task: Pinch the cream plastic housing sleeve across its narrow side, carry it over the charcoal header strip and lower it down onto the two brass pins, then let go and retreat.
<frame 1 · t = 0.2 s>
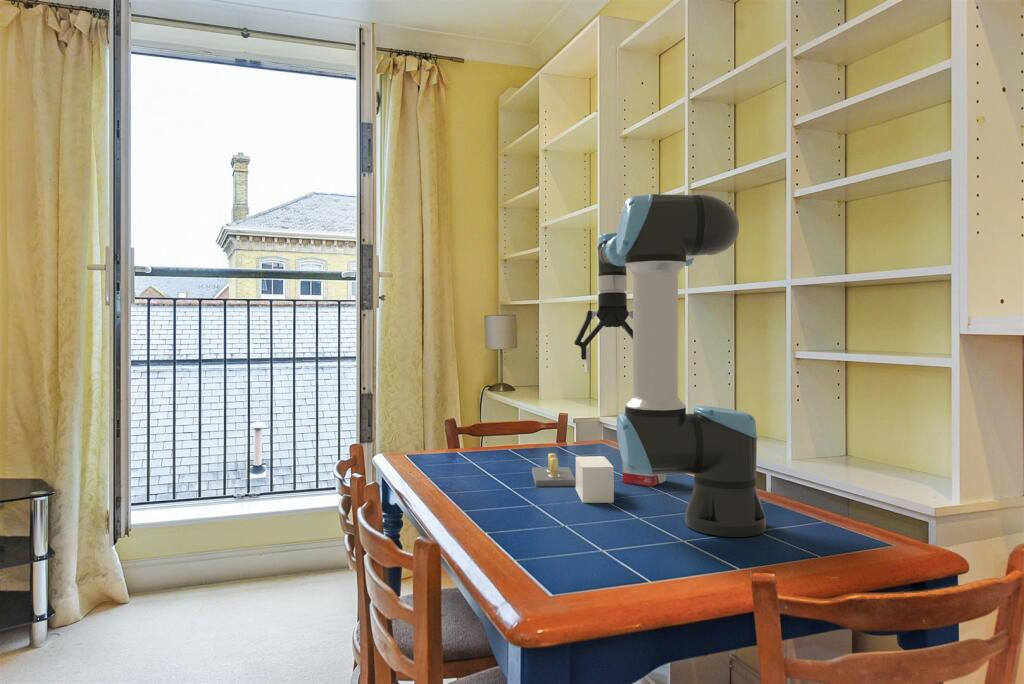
hand: (612, 372, 181), 27 cm above the table, fingers open, 13 cm apart
ink box: (644, 482, 173), on the table
housing: (593, 495, 159), on the table
header: (553, 479, 177), on the table
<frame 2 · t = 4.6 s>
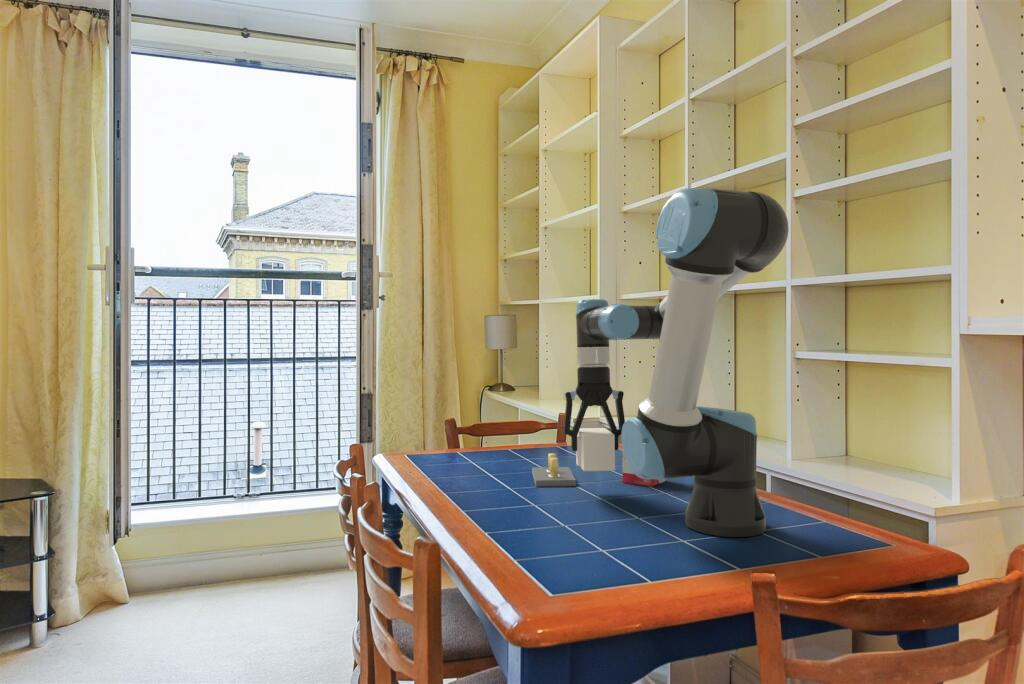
hand: (595, 464, 158), 7 cm above the table, fingers closed on housing, 7 cm apart
housing: (595, 465, 158), point 7 cm above the table, touching gripper
everything else where it was.
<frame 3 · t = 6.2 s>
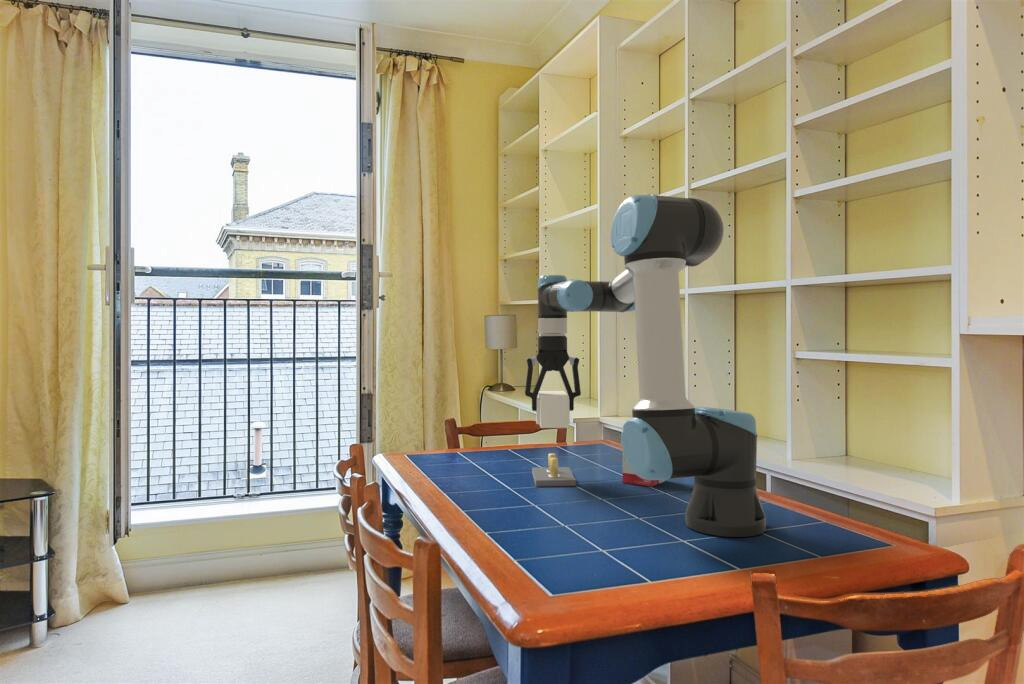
hand: (552, 423, 177), 15 cm above the table, fingers closed on housing, 7 cm apart
housing: (552, 424, 177), point 14 cm above the table, touching gripper
everything else where it was.
when the fingers open (3 cm above the table, at t = 8.2 s): housing stays where it is, resting on header.
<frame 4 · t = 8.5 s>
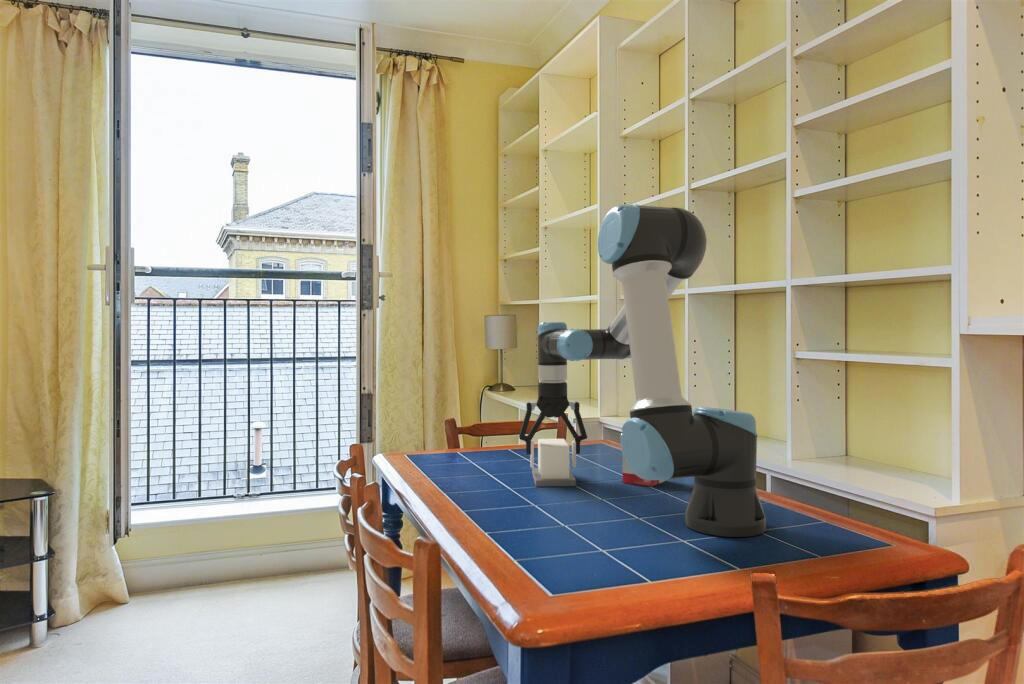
hand: (553, 466, 177), 3 cm above the table, fingers open, 10 cm apart
housing: (553, 473, 177), point 1 cm above the table, touching header
everything else where it was.
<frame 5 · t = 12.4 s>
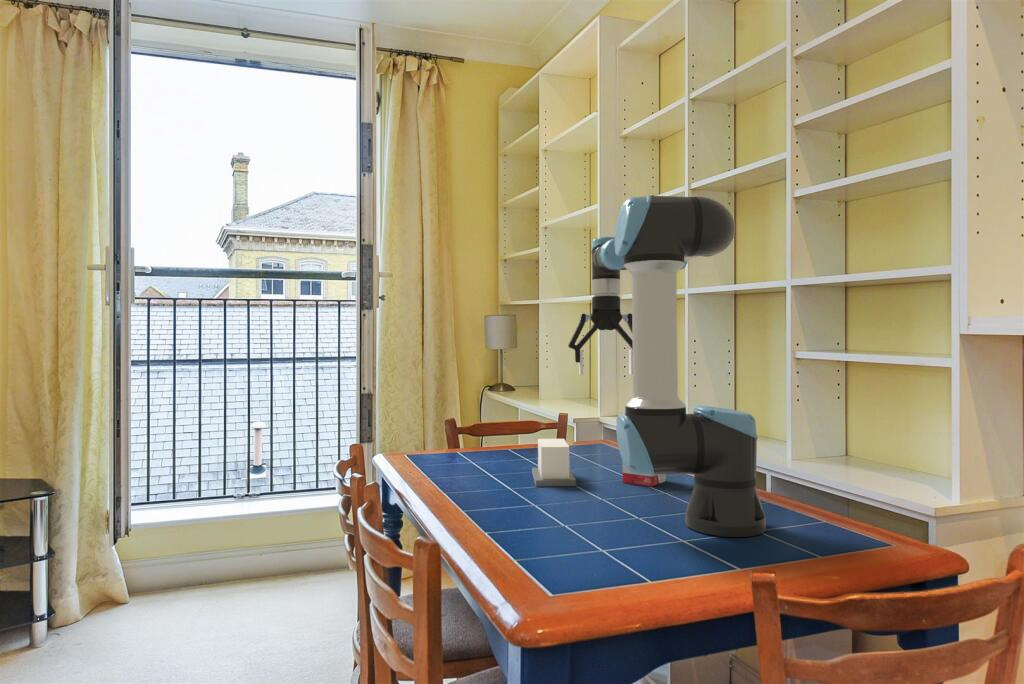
hand: (606, 374, 183), 27 cm above the table, fingers open, 13 cm apart
nothing on the table moved.
at the end: housing 0.1 cm off-centre on the header, point 1.5 cm above the header's base; housing tilted 0°; the gripper is holding nothing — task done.
